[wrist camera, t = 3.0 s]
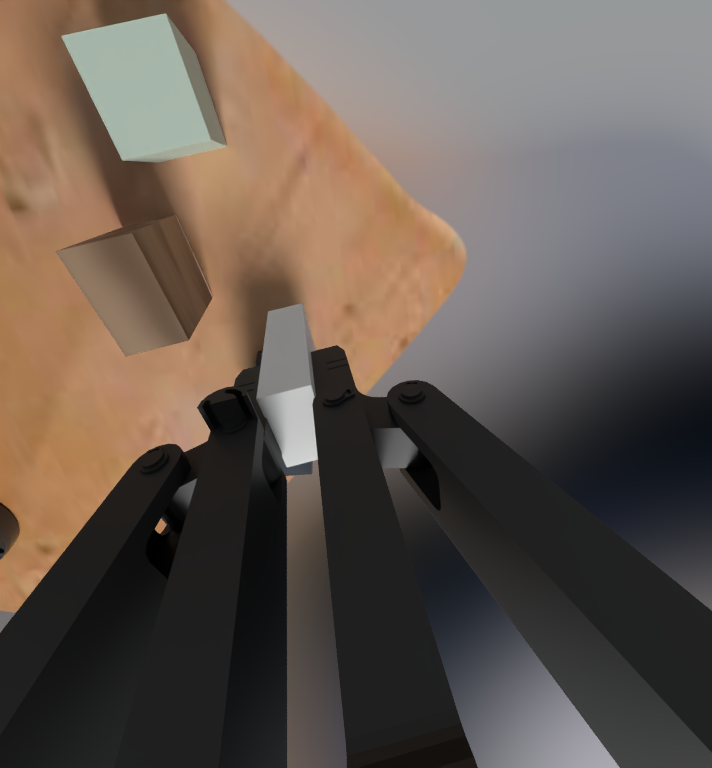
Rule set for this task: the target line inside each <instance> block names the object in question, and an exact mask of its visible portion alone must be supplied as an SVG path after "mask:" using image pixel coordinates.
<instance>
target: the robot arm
mask: <svg viewBox="0 0 712 768" xmlns="http://www.w3.org/2000/svg"><path fill="white" fill-rule="evenodd" d="M197 408H198V410H199V412H200V413H201V415H202V417H203V418H204V420H205V422H206V424H207V425H208V427H209V429H210V430H211V432H210V435H209V439H208V441H207V442H205V443H203V444H201V445H199V446H197V447H195V448H193V449H191V450H189V451H186V452H183V451H182V449H181V448H180V447H179V446H178V445H176V444H166V445H161V446H158V447H155V448H154V449H151V450H149V451H147V452H146V453H145V454H143V455H142V456H141V457H139V458H138V459H137V460H136V461H135V462H134V463H133V464H132V466H131V467H130V468H129V469H128V471H127V472H126V473H125V475H124V476H123V477H122V478H121V480H120V481H119V482H118V483H117V485H116V486H115V487H114V489H113V490H112V491H111V492H110V494H109V495H108V496H107V497H106V499H105V500H104V501H103V503H102V504H101V505H100V506H99V508H98V509H97V510H96V512H95V513H94V514H93V515H92V517H91V518H90V519H89V520H88V522H87V523H86V524H85V526H84V527H83V528H82V529H81V531H80V532H79V533H78V534H77V536H76V537H75V538H74V540H73V541H72V542H71V543H70V545H69V546H68V547H67V548H66V550H65V551H64V552H63V554H62V555H61V556H60V557H59V559H58V560H57V561H56V563H55V564H54V565H53V566H52V568H51V569H50V570H49V571H48V573H47V574H46V575H45V577H44V578H43V579H42V580H41V582H40V583H39V584H38V585H37V587H36V588H35V589H34V591H33V592H32V593H31V594H30V596H29V597H28V598H27V599H26V601H25V602H24V603H23V605H22V606H21V607H20V608H19V610H18V611H17V612H16V614H15V615H14V616H13V617H12V619H11V620H10V621H9V622H8V624H7V625H6V626H5V628H4V629H3V630H2V631H1V633H0V768H287V480H286V476H285V474H284V471H283V469H282V458H283V460H284V462H285V464H286V467H291V466H295V465H299V464H303V463H306V462H310V461H314V460H318V465H319V476H320V486H321V496H322V505H323V516H324V527H325V536H326V547H327V557H328V567H329V577H330V587H331V597H332V607H333V617H334V626H335V637H336V648H337V657H338V668H339V678H340V688H341V698H342V706H343V707H342V708H343V718H344V727H345V738H346V751H347V768H478V767H477V764H476V762H475V759H474V756H473V753H472V751H471V748H470V746H469V743H468V741H467V738H466V736H465V733H464V730H463V727H462V724H461V722H460V718H459V715H458V712H457V709H456V706H455V702H454V699H453V696H452V693H451V689H450V686H449V683H448V680H447V677H446V673H445V670H444V667H443V664H442V661H441V657H440V654H439V651H438V647H437V644H436V641H435V638H434V635H433V631H432V628H431V625H430V622H429V618H428V615H427V612H426V609H425V605H424V602H423V599H422V596H421V593H420V589H419V586H418V583H417V580H416V576H415V573H414V570H413V567H412V564H411V560H410V557H409V554H408V551H407V547H406V544H405V541H404V538H403V534H402V531H401V528H400V525H399V522H398V518H397V515H396V512H395V508H394V505H393V502H392V499H391V496H390V492H389V489H388V486H387V483H386V479H385V476H384V473H383V470H382V468H399V469H400V471H401V473H402V475H403V476H404V477H405V479H406V480H407V481H408V483H409V484H410V485H411V487H412V488H413V489H414V491H415V492H416V493H417V495H418V496H419V497H420V499H421V500H422V501H423V503H424V504H425V505H426V507H427V508H428V510H429V511H430V512H431V514H432V515H433V516H434V518H435V519H436V520H437V522H438V523H439V524H440V526H441V527H442V528H443V530H444V531H445V533H446V534H447V535H448V536H449V538H450V539H451V541H452V542H453V543H454V545H455V546H456V547H457V549H458V550H459V551H460V553H461V554H462V555H463V557H464V558H465V559H466V561H467V562H468V564H469V565H470V566H471V567H472V569H473V570H474V572H475V573H476V574H477V576H478V577H479V578H480V580H481V581H482V582H483V584H484V585H485V586H486V588H487V589H488V590H489V592H490V593H491V594H492V596H493V597H494V598H495V600H496V601H497V603H498V604H499V605H500V607H501V608H502V609H503V611H504V612H505V613H506V615H507V616H508V617H509V619H510V620H511V621H512V623H513V624H514V625H515V627H516V628H517V629H518V631H519V632H520V634H521V635H522V636H523V638H524V639H525V640H526V642H527V643H528V644H529V646H530V647H531V648H532V650H533V651H534V652H535V654H536V655H537V656H538V658H539V659H540V661H541V662H542V663H543V665H544V666H545V667H546V669H547V670H548V671H549V673H550V674H551V675H552V677H553V678H554V679H555V680H556V682H557V683H558V685H559V686H560V687H561V689H562V690H563V691H564V693H565V694H566V695H567V697H568V698H569V700H570V701H571V702H572V704H573V705H574V706H575V708H576V709H577V710H578V711H579V713H580V714H581V716H582V717H583V718H584V720H585V721H586V722H587V724H588V725H589V727H590V728H591V729H592V730H593V732H594V733H595V735H596V736H597V737H598V739H599V740H600V741H601V743H602V744H603V745H604V747H605V748H606V749H607V751H608V752H609V753H610V755H611V756H612V757H613V759H614V760H615V762H616V763H617V764H618V766H619V767H620V768H712V611H711V610H710V609H709V608H708V607H706V606H705V605H704V604H702V603H701V602H700V601H699V600H698V599H696V598H695V597H694V596H692V595H691V594H690V593H689V592H688V591H687V590H685V589H684V588H683V587H682V586H680V585H679V584H678V583H677V582H675V581H674V580H673V579H672V578H670V577H669V576H668V575H667V574H666V573H664V572H663V571H662V570H661V569H659V568H658V567H657V566H656V565H654V564H653V563H652V562H651V561H649V560H648V559H647V558H646V557H644V556H643V555H642V554H641V553H640V552H638V551H637V550H636V549H635V548H633V547H632V546H631V545H630V544H628V543H627V542H626V541H625V540H623V539H622V538H621V537H620V536H619V535H617V534H616V533H615V532H614V531H612V530H611V529H610V528H609V527H607V526H606V525H605V524H604V523H602V522H601V521H600V520H599V519H598V518H596V517H595V516H594V515H593V514H591V513H590V512H589V511H588V510H586V509H585V508H584V507H583V506H581V505H580V504H579V503H578V502H577V501H575V500H574V499H573V498H572V497H570V496H569V495H568V494H567V493H565V492H564V491H563V490H562V489H560V488H559V487H558V486H557V485H556V484H554V483H553V482H552V481H551V480H549V479H548V478H547V477H546V476H544V475H543V474H542V473H541V472H539V471H538V470H537V469H536V468H534V467H533V466H532V465H531V464H530V463H528V462H527V461H526V460H525V459H523V458H522V457H521V456H520V455H518V454H517V453H516V452H515V451H513V450H512V449H511V448H510V447H509V446H507V445H506V444H505V443H504V442H502V441H501V440H500V439H499V438H497V437H496V436H495V435H494V434H492V433H491V432H490V431H489V430H488V429H486V428H485V427H484V426H482V425H481V424H480V423H479V422H478V421H476V420H475V419H474V418H473V417H471V416H470V415H469V414H468V413H467V412H465V411H464V410H463V409H462V408H460V407H459V406H458V405H457V404H455V403H454V402H453V401H451V400H450V399H449V398H448V397H447V396H445V395H444V394H443V393H442V392H441V391H439V390H438V389H437V388H436V387H434V386H433V385H431V384H429V383H427V382H423V381H419V380H415V381H406V382H402V383H399V384H397V385H396V386H394V387H392V388H391V390H390V391H389V392H388V395H387V397H369V396H366V395H363V394H361V393H360V392H359V391H358V390H357V388H356V386H355V383H354V380H353V377H352V373H351V370H350V367H349V364H348V360H347V357H346V354H345V351H344V350H343V349H342V348H340V347H339V346H337V345H336V346H332V347H328V348H324V349H320V350H316V349H315V345H314V342H313V338H312V335H311V332H310V328H309V325H308V321H307V318H306V314H305V311H304V307H303V304H302V303H301V304H297V305H292V306H288V307H284V308H280V309H276V310H272V311H268V316H267V324H266V331H265V338H264V346H263V353H262V360H261V366H257V367H253V368H249V369H245V370H243V371H242V372H241V373H240V374H239V375H238V377H237V378H236V380H235V384H234V386H233V387H226V388H223V389H220V390H218V391H215V392H214V393H212V394H210V395H208V396H207V397H206V398H205V399H204V400H202V401H201V403H200V404H199V406H198V407H197ZM161 518H162V519H163V521H164V522H165V523H166V524H167V525H166V527H165V529H164V530H163V531H162V532H161V534H159V533H157V531H156V530H155V527H156V526H157V524H158V522H159V521H160V519H161ZM18 536H19V525H18V522H17V520H16V519H15V517H14V516H13V515H12V514H11V513H10V512H9V511H8V510H7V509H6V508H4V507H3V506H2V505H0V560H1V559H2V558H3V557H4V556H5V555H6V554H7V552H8V551H9V550H10V548H11V547H12V546H13V544H14V543H15V541H16V540H17V538H18Z"/></svg>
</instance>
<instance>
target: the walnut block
mask: <svg viewBox="0 0 712 768" xmlns="http://www.w3.org/2000/svg"><path fill="white" fill-rule="evenodd" d="M55 252H56V253H57V255H58V256H59V258H60V259H61V261H62V262H63V264H64V265H65V267H66V268H67V270H68V271H69V273H70V274H71V276H72V277H73V279H74V280H75V281H76V283H77V284H78V286H79V287H80V289H81V290H82V292H83V293H84V295H85V296H86V298H87V299H88V301H89V302H90V304H91V305H92V307H93V308H94V310H95V311H96V313H97V314H98V316H99V317H100V319H101V320H102V322H103V323H104V325H105V326H106V328H107V329H108V331H109V332H110V334H111V335H112V337H113V338H114V340H115V341H116V343H117V344H118V346H119V347H120V349H121V350H122V352H123V353H124V355H125V356H130V355H134V354H138V353H141V352H145V351H149V350H153V349H157V348H161V347H165V346H169V345H172V344H176V343H180V342H184V341H188V340H189V339H190V337H191V335H192V334H193V332H194V330H195V328H196V326H197V325H198V323H199V321H200V319H201V317H202V316H203V314H204V312H205V310H206V309H207V307H208V305H209V303H210V301H211V300H212V298H213V295H212V293H211V291H210V289H209V286H208V284H207V282H206V280H205V277H204V275H203V273H202V271H201V269H200V266H199V264H198V262H197V260H196V258H195V255H194V253H193V251H192V249H191V246H190V244H189V242H188V240H187V238H186V235H185V233H184V231H183V229H182V226H181V224H180V222H179V220H178V218H177V215H172V216H168V217H163V218H159V219H155V220H151V221H147V222H143V223H139V224H135V225H130V226H126V227H122V228H119V229H117V230H114V231H111V232H108V233H106V234H103V235H100V236H97V237H94V238H92V239H89V240H86V241H83V242H81V243H78V244H75V245H72V246H69V247H67V248H64V249H61V250H58V251H55Z"/></svg>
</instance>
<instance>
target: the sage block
mask: <svg viewBox="0 0 712 768" xmlns="http://www.w3.org/2000/svg"><path fill="white" fill-rule="evenodd" d="M61 37H62V39H63V41H64V43H65V45H66V47H67V49H68V51H69V53H70V55H71V57H72V59H73V61H74V63H75V65H76V67H77V69H78V71H79V73H80V75H81V77H82V79H83V81H84V83H85V85H86V88H87V90H88V92H89V94H90V96H91V98H92V100H93V102H94V104H95V106H96V108H97V110H98V112H99V114H100V116H101V118H102V120H103V122H104V124H105V126H106V128H107V130H108V132H109V134H110V136H111V138H112V140H113V142H114V145H115V147H116V149H117V151H118V153H119V155H120V157H121V159H122V160H123V161H140V162H158V163H159V162H164V161H168V160H172V159H176V158H181V157H185V156H189V155H193V154H198V153H202V152H206V151H211V150H215V149H219V148H223V147H227V144H226V141H225V138H224V135H223V132H222V129H221V126H220V123H219V120H218V117H217V114H216V112H215V109H214V106H213V103H212V100H211V97H210V94H209V91H208V88H207V85H206V82H205V79H204V76H203V73H202V70H201V67H200V64H199V61H198V58H197V55H196V53H195V51H194V50H193V49H192V47H191V46H190V45H189V43H188V42H187V41H186V39H185V38H184V37H183V35H182V34H181V33H180V31H179V30H178V29H177V27H176V26H175V25H174V24H173V22H172V21H171V20H170V18H169V17H168V16H167V14H166V13H165V14H160V15H156V16H151V17H146V18H142V19H137V20H132V21H128V22H123V23H118V24H114V25H109V26H105V27H100V28H95V29H91V30H86V31H81V32H77V33H72V34H67V35H63V36H61Z"/></svg>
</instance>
